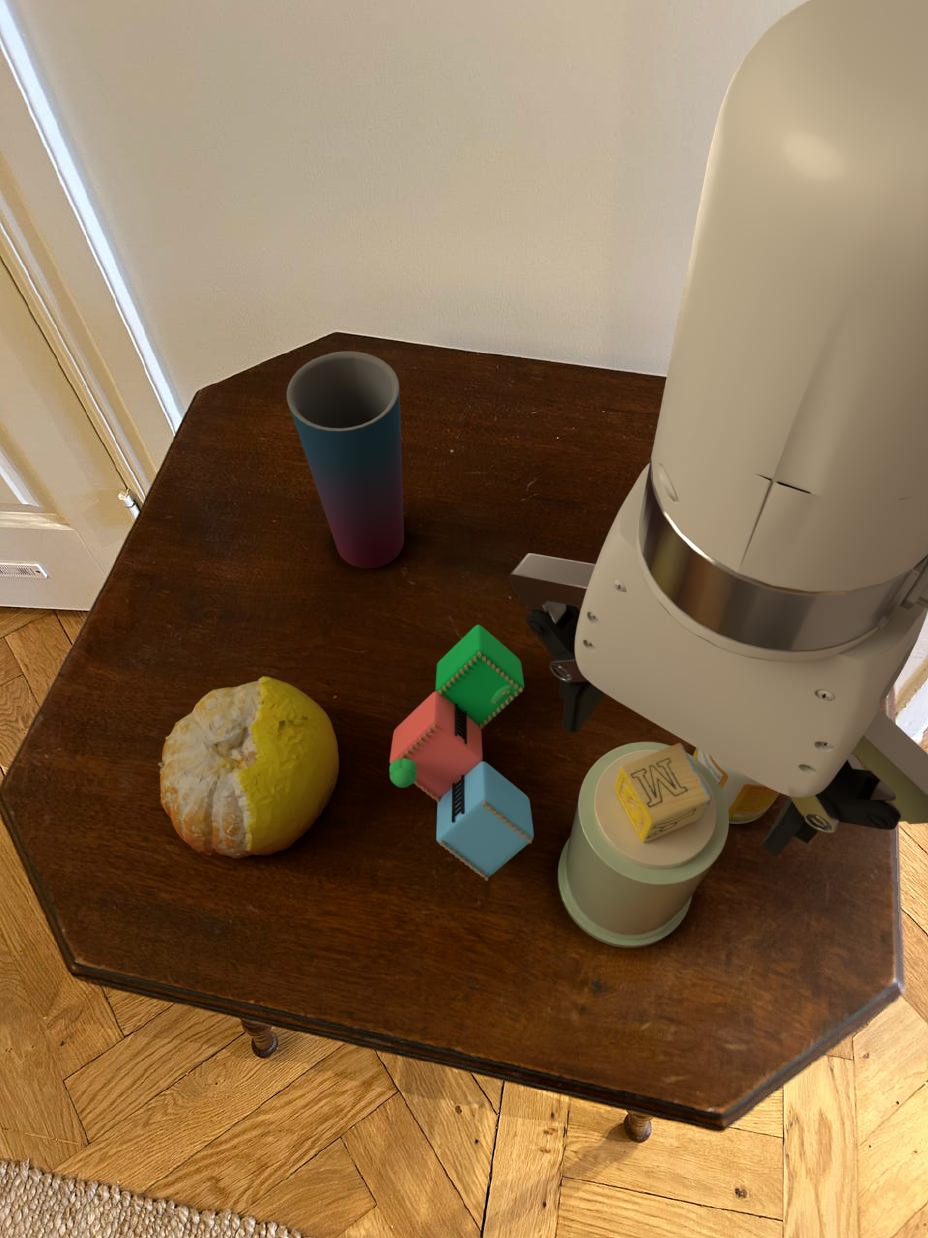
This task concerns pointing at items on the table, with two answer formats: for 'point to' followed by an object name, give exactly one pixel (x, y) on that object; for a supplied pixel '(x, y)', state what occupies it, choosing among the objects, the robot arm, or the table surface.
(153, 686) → the table surface
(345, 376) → the cup
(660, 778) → the alphabet block
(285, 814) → the fruit
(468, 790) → the building blocks
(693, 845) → the upturned tumbler
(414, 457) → the table surface
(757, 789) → the supplement bottle
